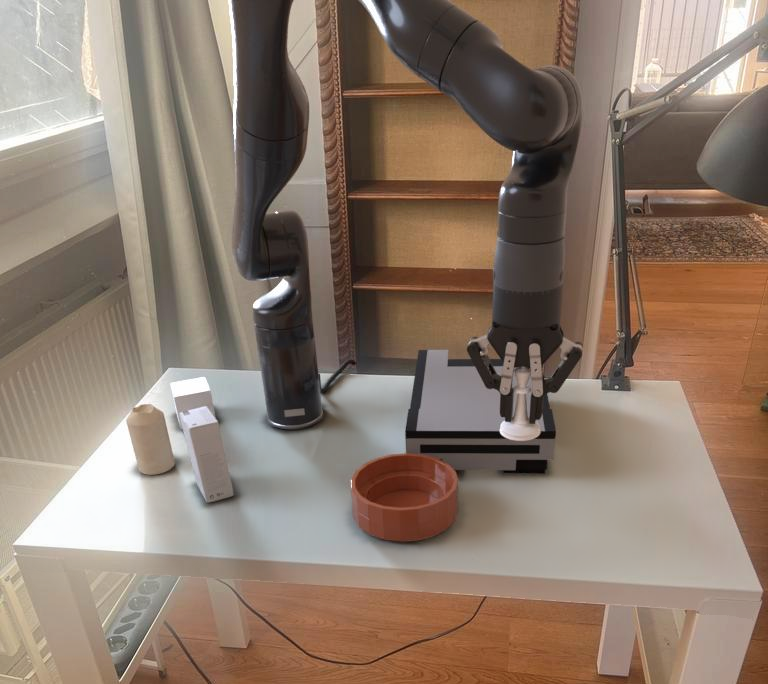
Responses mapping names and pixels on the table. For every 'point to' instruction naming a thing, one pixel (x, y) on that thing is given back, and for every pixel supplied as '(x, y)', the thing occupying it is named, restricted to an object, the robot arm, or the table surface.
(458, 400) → the game console
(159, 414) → the candle
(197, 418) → the cosmetic box
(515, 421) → the chess piece
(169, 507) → the table surface
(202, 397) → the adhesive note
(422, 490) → the bowl
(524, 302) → the robot arm
